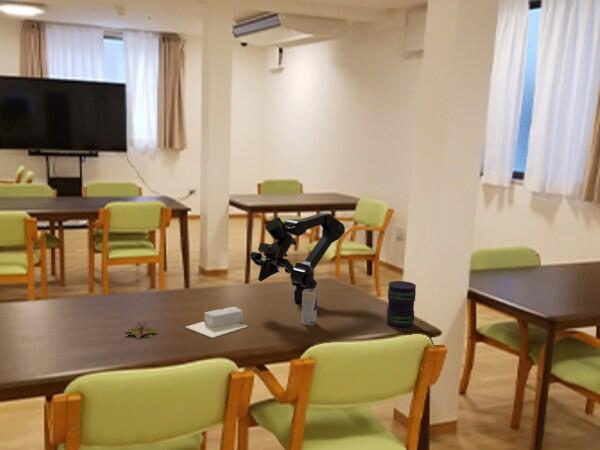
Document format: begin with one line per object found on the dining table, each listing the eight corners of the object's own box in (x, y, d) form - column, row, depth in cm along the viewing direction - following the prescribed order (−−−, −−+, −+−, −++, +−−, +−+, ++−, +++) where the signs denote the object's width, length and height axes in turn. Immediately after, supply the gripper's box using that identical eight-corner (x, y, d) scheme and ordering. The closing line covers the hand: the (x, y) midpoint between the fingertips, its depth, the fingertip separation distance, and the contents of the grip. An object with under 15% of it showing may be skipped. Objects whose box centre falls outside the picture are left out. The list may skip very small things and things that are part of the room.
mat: (220, 317, 218) (220, 316, 218) (247, 327, 209) (247, 326, 209) (185, 327, 207) (185, 326, 207) (212, 338, 198) (212, 337, 197)
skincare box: (243, 310, 213) (213, 315, 205) (242, 322, 213) (212, 328, 206) (233, 306, 217) (204, 311, 210) (233, 318, 218) (203, 323, 210)
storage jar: (396, 330, 211) (399, 289, 209) (380, 322, 220) (382, 282, 217) (419, 327, 216) (422, 286, 213) (402, 318, 224) (405, 280, 222)
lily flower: (129, 327, 206) (129, 314, 206) (163, 329, 206) (163, 316, 206) (118, 340, 195) (118, 326, 194) (155, 341, 194) (155, 328, 194)
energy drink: (318, 321, 217) (319, 289, 215) (313, 326, 212) (314, 293, 210) (304, 319, 219) (305, 288, 217) (299, 324, 214) (300, 291, 212)
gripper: (253, 230, 228) (231, 263, 222) (289, 238, 216) (267, 272, 210) (267, 248, 235) (246, 280, 229) (303, 256, 223) (281, 290, 217)
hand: (259, 280), depth 221 cm, fingers closed
